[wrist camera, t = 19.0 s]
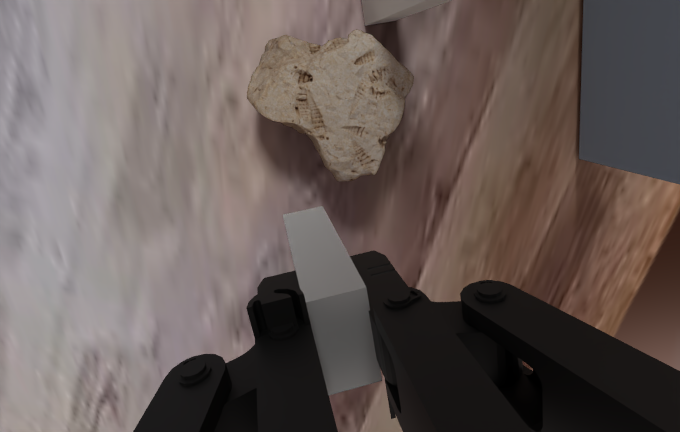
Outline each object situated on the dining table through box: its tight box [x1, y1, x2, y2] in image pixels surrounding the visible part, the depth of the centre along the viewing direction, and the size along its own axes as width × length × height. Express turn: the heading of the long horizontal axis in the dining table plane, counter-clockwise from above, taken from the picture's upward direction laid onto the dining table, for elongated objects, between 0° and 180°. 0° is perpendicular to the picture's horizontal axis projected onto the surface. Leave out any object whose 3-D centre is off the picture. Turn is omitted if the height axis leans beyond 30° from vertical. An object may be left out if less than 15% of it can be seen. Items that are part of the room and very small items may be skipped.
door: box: [579, 0, 680, 184], centre depth 31 cm, size 3×16×13 cm, turn 9°
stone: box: [247, 30, 414, 181], centre depth 31 cm, size 9×11×5 cm
